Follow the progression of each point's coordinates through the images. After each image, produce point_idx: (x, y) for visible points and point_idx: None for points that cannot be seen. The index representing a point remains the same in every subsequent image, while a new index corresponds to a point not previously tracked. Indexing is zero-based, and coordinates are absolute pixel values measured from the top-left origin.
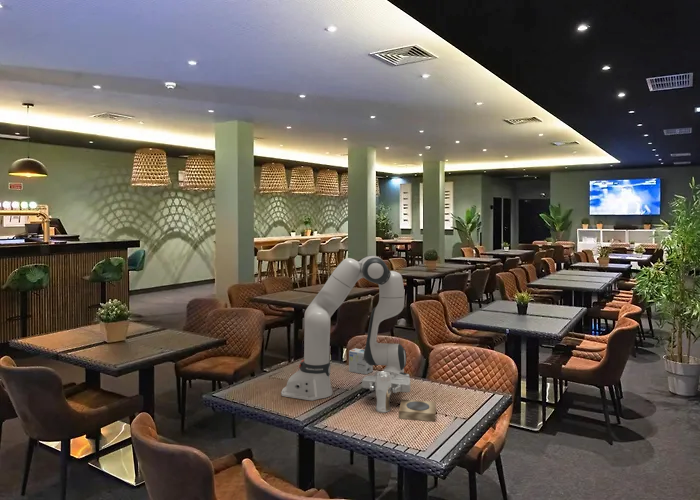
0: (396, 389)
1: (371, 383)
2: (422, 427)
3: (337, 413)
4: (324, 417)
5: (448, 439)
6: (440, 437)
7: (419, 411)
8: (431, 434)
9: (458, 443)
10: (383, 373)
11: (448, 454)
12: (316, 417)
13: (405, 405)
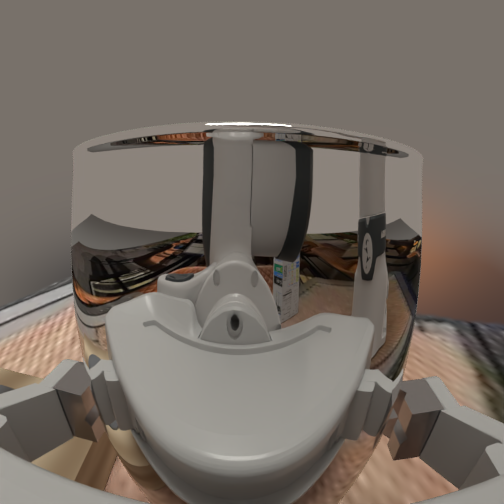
0: (64, 367)
1: (494, 443)
2: (51, 359)
3: (478, 403)
4: (481, 363)
5: (24, 312)
6: (36, 318)
7: (6, 380)
8: (50, 328)
9: (16, 302)
10: (289, 209)
11: (67, 282)
12: (497, 355)
13: (40, 460)
